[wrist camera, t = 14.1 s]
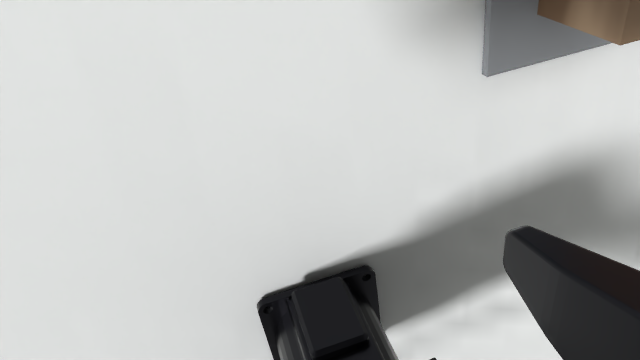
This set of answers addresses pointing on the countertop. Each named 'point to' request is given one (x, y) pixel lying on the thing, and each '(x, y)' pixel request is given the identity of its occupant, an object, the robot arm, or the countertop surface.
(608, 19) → the letter cube
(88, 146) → the countertop surface
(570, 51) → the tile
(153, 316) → the countertop surface
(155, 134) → the countertop surface
